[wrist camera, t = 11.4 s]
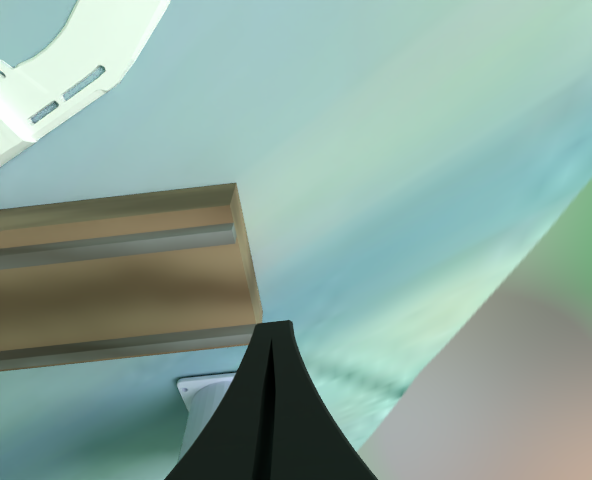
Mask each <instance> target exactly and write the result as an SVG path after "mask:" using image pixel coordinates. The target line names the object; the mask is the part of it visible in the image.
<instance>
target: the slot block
mask: <svg viewBox="0 0 592 480" xmlns="http://www.w3.org/2000/svg"><path fill="white" fill-rule="evenodd" d="M262 314H263V311H262V306H261V301H260V297H259V292H258V287H257V282H256V277H255V272H254V267H253V262H252V257H251V253H250V248H249V243H248V238H247V233H246V228H245V223H244V218H243V213H242V209H241V204H240V199H239V194H238V189H237V184H236V183H231V184H222V185H213V186H204V187H195V188H187V189H178V190H169V191H160V192H151V193H142V194H134V195H125V196H116V197H107V198H98V199H90V200H81V201H72V202H63V203H54V204H45V205H37V206H28V207H19V208H10V209H1V210H0V371H8V370H18V369H27V368H37V367H46V366H55V365H65V364H74V363H84V362H93V361H102V360H112V359H121V358H130V357H140V356H149V355H159V354H168V353H177V352H187V351H196V350H206V349H215V348H224V347H234V346H243V345H249V343H250V340H251V337H252V334H253V331H254V328H255V326H256V325H257V324H258V323H262Z"/></svg>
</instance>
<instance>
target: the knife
mask: <svg viewBox="0 0 592 480" xmlns="http://www.w3.org/2000/svg"><path fill="white" fill-rule="evenodd" d="M170 1H171V0H77V2H76V4H75V6H74V8H73V10H72V12H71V14H70V16H69V18H68V20H67V22H66V24H65V26H64V28H63V29H62V30H61V31H60V33H59V34H58V35H57V37H56V38H55V39H54V40H53V41H52V42H51V43H50V44H49V45H48V46H47V47H46V48H45V49H44V50H42V51H41V52H40V53H38V54H37V55H36V56H34V57H33V58H31V59H29V60H26V61H24V62H22V63H20V64H18V65H17V66H16V67H15V68H13V67H11V66H10V65H9V64H7V63H6V62H4V61H3V60H0V71H2V72H3V73H4V74H5V76H6V77H5V76H3V75H2V74H0V167H1V166H2V165H4V164H5V163H7V162H8V161H10V160H11V159H12V158H14V157H15V156H17V155H18V154H20V153H21V152H22V151H24V150H25V149H27V148H28V147H30V146H32V145H33V144H34V143H36V142H37V141H38V140H39V139H40V138H41V137H43V136H44V135H46V134H47V133H49V132H50V131H51V130H53V129H54V128H56V127H57V126H59V125H60V124H62V123H63V122H64V121H66V120H67V119H69V118H70V117H72V116H73V115H74V114H76V113H77V112H79V111H80V110H82V109H83V108H85V107H86V106H87V105H89V104H90V103H92V102H93V101H95V100H96V99H98V98H99V97H100V96H102V95H103V94H105V93H106V92H108V91H110V90H111V89H113V88H114V87H115V86H117V85H118V84H119V83H120V82H121V81H122V79H123V77H124V76H125V74H126V73H127V72H128V70H129V69H130V68H131V66H132V65H133V64H134V62H135V61H136V59H137V57H138V56H139V54H140V52H141V51H142V49H143V47H144V46H145V44H146V42H147V41H148V39H149V37H150V36H151V34H152V32H153V31H154V29H155V27H156V26H157V24H158V22H159V21H160V19H161V17H162V16H163V14H164V12H165V11H166V9H167V7H168V5H169V3H170ZM100 66H104V67H105V70H106V71H105V72H104V73H103V74H102V75H101V76H100V77H99V78H98V79H96V80H95V81H93V82H92V83H91V84H89V85H88V86H87V87H85V88H84V89H82V90H81V91H80V92H78V93H77V94H76V95H74V96H73V97H72V98H70V99H69V100H67V101H66V100H65V99H64V97H63V95H64V94H65V93H67V92H68V91H69V90H71V89H72V88H73V87H75V86H76V85H78V84H79V83H80V82H82V81H83V80H85V79H86V78H87V77H88V76H90V75H91V74H92V73H94V72H95V71H96V70H97V69H98V68H99V67H100ZM55 101H56V102H57V103H58V104H59V106H58V108H56V109H55V110H53V111H52V112H51V113H49V114H48V115H46V116H45V117H44V118H42V119H41V120H40V121H38V122H37V123H35V124H34V123H32V120H31V118H32V117H34V116H35V115H36V114H38V113H39V112H41V111H42V110H43V109H45V108H46V107H48V106H49V105H50V104H52V103H53V102H55Z"/></svg>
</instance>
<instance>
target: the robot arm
mask: <svg viewBox="0 0 592 480" xmlns="http://www.w3.org/2000/svg"><path fill="white" fill-rule="evenodd" d="M177 387H178V389H179V392H180V394H181V396H182V398H183V401H184V403H185V405H186V407H187V410H188V412H189V416H188V420H187V424H186V428H185V433H184V437H183V441H182V445H181V450H180V454H179V458H178V462H177V465H176V466H175V467H174V468H173V470H172V471H171V472H170V473H169V475H168V476H167V477H166V478H165V479H164V480H378V479H377V478H376V476H375V475H374V474H373V473H372V472H371V470H369V468H368V467H367V465H366V464H365V463H364V462H363V460H362V459H361V458H360V456H359V455H358V454H357V452H356V451H355V450H354V448H353V447H352V446H351V444H350V443H349V441H348V440H347V438H346V437H345V436H344V434H343V433H342V431H341V430H340V428H339V427H338V425H337V424H336V422H335V421H334V419H333V418H332V416H331V414H330V413H329V411H328V409H327V408H326V406H325V404H324V403H323V401H322V399H321V397H320V395H319V394H318V392H317V390H316V388H315V386H314V384H313V382H312V380H311V378H310V376H309V374H308V371H307V369H306V367H305V365H304V362H303V360H302V357H301V355H300V352H299V349H298V346H297V343H296V340H295V336H294V329H293V323H292V322H291V321H290V320H286V321H277V322H267V323H258V324H257V325H256V326H255V328H254V331H253V334H252V337H251V340H250V343H249V345H248V348H247V350H246V353H245V355H244V357H243V359H242V361H241V364H240V366H239V368H238V370H237V372H236V373H228V374H219V375H209V376H200V377H190V378H182V379H179V380H178V382H177Z"/></svg>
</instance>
